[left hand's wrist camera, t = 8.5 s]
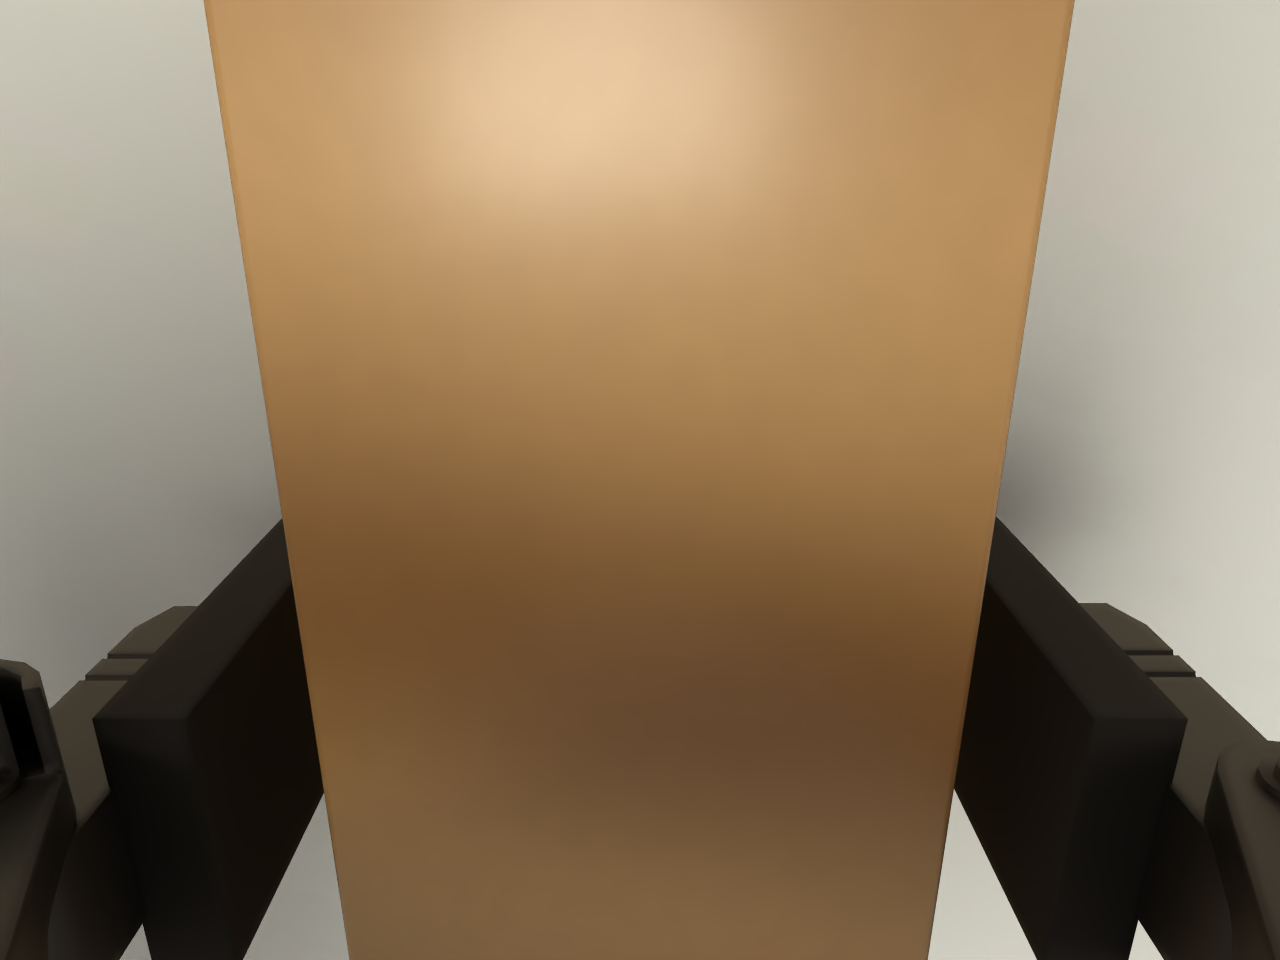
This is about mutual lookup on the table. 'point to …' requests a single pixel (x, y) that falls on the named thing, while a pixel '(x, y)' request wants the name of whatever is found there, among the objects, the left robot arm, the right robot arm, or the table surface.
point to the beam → (638, 447)
